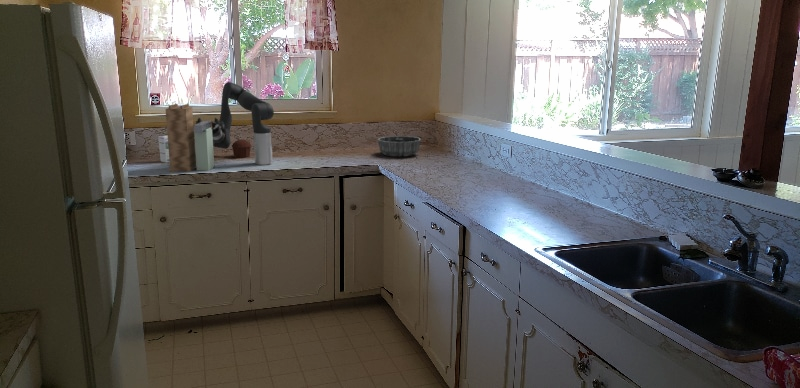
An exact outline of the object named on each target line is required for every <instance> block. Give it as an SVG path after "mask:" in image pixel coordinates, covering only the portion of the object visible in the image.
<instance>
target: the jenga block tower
mask: <svg viewBox="0 0 800 388" xmlns="http://www.w3.org/2000/svg"><path fill="white" fill-rule="evenodd" d="M193 113H194V111H193V106H190V104H189V103H186V104H183V105H180V106H179V104H178V103H175V104H171V105H168V107H167V108H165V119H166V120H165V121H166V133H167V134H166V135H168V148H169V161H170V162H169V171H170V172H192V171H193V170H194V169H196V168H197V163H196V149H195V134H194V125H195V124H194V114H193Z"/></svg>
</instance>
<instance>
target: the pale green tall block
mask: <svg viewBox="0 0 800 388" xmlns="http://www.w3.org/2000/svg"><path fill="white" fill-rule="evenodd" d="M194 139H195V154H196V171H210V170H211V169H213V168H214V167H215V159H214V158H215V157H214V156H215V155H214V154H215V153H214V146H213V136H212V129H211V127H210V128H208V129H206V130H205V132H204V133H194Z"/></svg>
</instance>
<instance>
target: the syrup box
mask: <svg viewBox="0 0 800 388" xmlns="http://www.w3.org/2000/svg"><path fill="white" fill-rule="evenodd" d="M157 137H158V139H157V140H158V147H159V155H160V156H159V158H160V162H162V163H170V161H169V148H168V135H167V134H166V135H159V136H157Z"/></svg>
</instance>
